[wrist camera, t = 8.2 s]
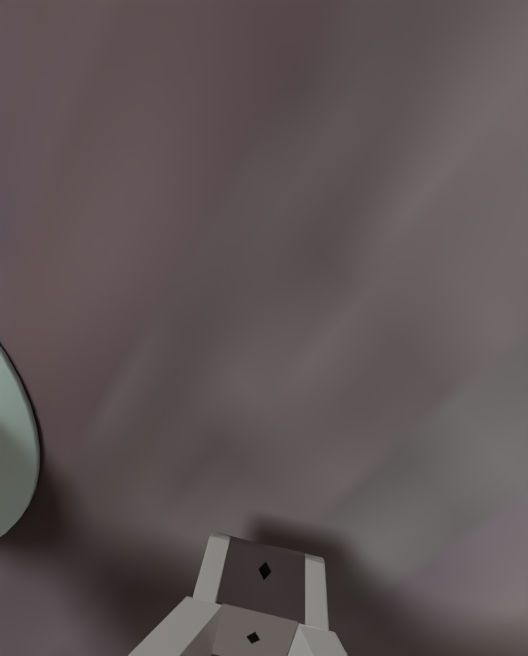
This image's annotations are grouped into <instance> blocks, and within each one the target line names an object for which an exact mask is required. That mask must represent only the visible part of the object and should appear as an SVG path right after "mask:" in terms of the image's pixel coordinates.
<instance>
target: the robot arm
mask: <svg viewBox="0 0 528 656" xmlns="http://www.w3.org/2000/svg"><path fill="white" fill-rule="evenodd" d="M229 541H230V542H229ZM212 654H215V655H220V656H348V655H347V653H346V651H345V649H344V647H343V646H342V644H341V642H340V640H339V638H338V636H337V635H336V633H335V632H333V631H329V620H328V604H327V588H326V572H325V561H324V559H323V558H322V557H318V556H314V555H309V554H305V553H304V554H303V552H299V551H294V550H290V549H285V548H280V547H276V546H271V545H263V544H259V543H256V542H252V541H248V540H244V539H240V538H237V537H233V536H231V538H230V536H229V535H225V534H221V533H217V532H213V531H212V533H211V535H210V537H209V541H208V544H207V548H206V551H205V555H204V559H203V562H202V566H201V569H200V573H199V576H198V580H197V583H196V587H195V591H194V594H193V597H188V596H186V597H185V598H184V599H183V600H182V601H181V602H180V603H179V604H178V605H177V606H176V607H175V608H174V609H173V611H172V612H171V613H170V614H169V615H168V616H167V617H166V618H165V619H164V620H163V621H162V622H161V623H160V624H159V625H158V626H157V627H156V628H155V629H154V630H153V631H152V632H151V633H150V634H149V635H148V636H147V637H146V638H145V639H144V640H143V641H142V642H141V643H140V644H139V645H138V646H137V647H136V648H135V649H134V650H133V651H132V652H131V653H130V654H129V655H128V656H211V655H212Z"/></svg>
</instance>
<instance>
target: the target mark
mask: <svg viewBox="0 0 528 656" xmlns="http://www.w3.org/2000/svg"><path fill="white" fill-rule="evenodd" d="M39 471H40V445H39V438H38V431H37V426H36V422H35V419H34V415H33V411H32V408H31V404H30V402H29V399H28V397H27V395H26V392H25V390H24V387H23V385H22V383H21V380H20V378H19V376H18V375H17V373H16V371H15V369H14V367H13V366H12V364H11V362H10V360H9V358H8V357H7V355H6V353H5V352H4V350H3V349H2V347H1V346H0V537H1V536H2V535H4V534H5V533H6V532H7V531H8V530H9V529H10V528H11V527H12V526H13V525H14V524H15V523H16V522H17V521H18V520H19V519H20V518H21V516H22V515H23V513H24V512H25V510H26V509H27V507H28V506H29V504H30V502H31V500H32V497H33V495H34V492H35V490H36V486H37V481H38V476H39Z"/></svg>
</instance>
